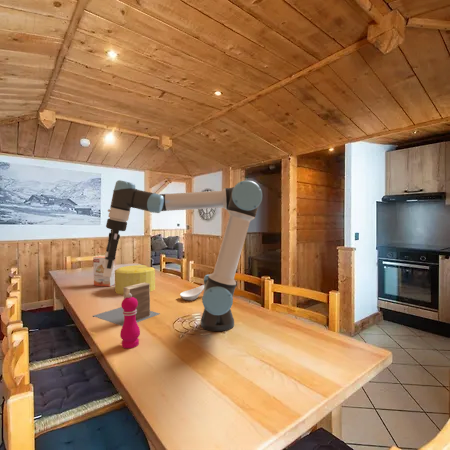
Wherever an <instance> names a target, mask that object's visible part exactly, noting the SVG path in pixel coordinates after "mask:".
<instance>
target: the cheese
mask: <svg viewBox="0 0 450 450" xmlns="http://www.w3.org/2000/svg"><path fill="white" fill-rule="evenodd" d="M140 283H149V284H150V293H151V292H153V291H155V289H156V269H155V268H154V267H151V266H150V267H149V266H148V265H145V264H140V265H139V264H137V265H126V266H122V267H121V266H120V267H118V268H117V269H115V285H114V291H115V293H116V294H117V295H121V296H122V295H123V296H124V287H128V286H132V285H136V284H140Z"/></svg>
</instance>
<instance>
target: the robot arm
mask: <svg viewBox="0 0 450 450" xmlns="http://www.w3.org/2000/svg"><path fill="white" fill-rule="evenodd" d="M262 201H263V191H262V189H261V187H260V186H259V184H258V183H256V182H255V181H253V180H242V181H239V182H238V183H236V184H235V185H234V186H233V187H232V186H231V187H224V188H223V189H222V190H213V191H212V190H210V191H195V192H193V191H192V192H177V193H161V194H160V193H157V192H151V191H144V190H141V189H137V188H136V184H135V183H133V182H129V181H125V180H121V179H119V180H117V181H116V182H115V184H114V189H112V198H111V202H110V207H109V208H108V209H107V212H108V218H107V219H106V220H107V221H106V225H105V227H106V229H109V230H110V232H109V233H108V240H107V246H106V248H105V249H106V251H105V255H104V256H105V259H104V263H103V268H104V273H103V276H105V277H111V273H112V268H113V264H115V260H116V255H117V250H118V245H119V240H120V238H121V235H120V233H119V232H126V230H127V227H128V226H127V225H128V221H129V219H130V218H129V217H130V213H131V209H133V208H134V209H137V210H142V211H146V212H150V213H152V214H160V213H161V212H169V211H172V212H173V211H187V210H189V211H190V210H206V209H221V208H222V209H224V210H226V211H227V213H228V219H227V223H226V227H225V230H224V234H223V237H222V241H221V244H220V248H219V252H218V255H217V260H216V263H215V265H214V269H213V272H212V273H210V274H205V275H204V277H203V285H204V290H203V292H202V293H203V294H202V297H201V298H202V299H201V300H202V301H201V302H202V305H203V307H204V309H203V312H202V315H201V319H200V327H201V328H202V329H203V330H206V331H210V332H224V331H227V330H231V329H232V328H233V327H234V326H235V318H234V316H233V312H232V310H231V308H232V306H233V303H234V298H233V297H234V294H235V291H236V286H237V281H236V280H235V276H236V272H237V270H238V265H239V261H240V259H241V254H242V250H243V248H244V244H245V240H246V238H247V234H248V230H249V227H250V223H251V221H253V220H254V219H256V216H257V212H258V210H259V209H258V208H259V207H260V205H261V203H262Z"/></svg>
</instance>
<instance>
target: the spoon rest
mask: <svg viewBox="0 0 450 450" xmlns="http://www.w3.org/2000/svg"><path fill="white" fill-rule="evenodd" d="M203 292H204V284H202V285H200V286H197V287H195V288H191V289H188V290H184V291H182V292H181V293H179V296H180V297H181V298H182V300H184V301H195V300H197V298H198V297H199V296H200V295H201V294H202V293H203Z"/></svg>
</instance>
